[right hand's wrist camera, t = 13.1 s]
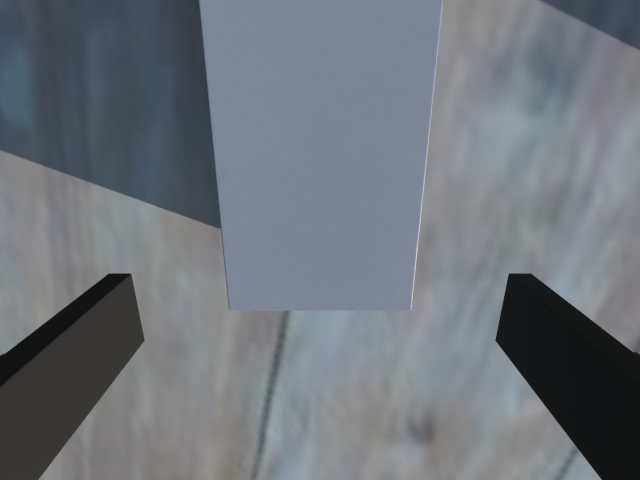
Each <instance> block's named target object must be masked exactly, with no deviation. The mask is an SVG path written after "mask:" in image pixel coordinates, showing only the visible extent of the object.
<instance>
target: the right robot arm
mask: <svg viewBox="0 0 640 480" xmlns="http://www.w3.org/2000/svg"><path fill="white" fill-rule="evenodd" d="M143 342H144V336H143V331H142V326H141V321H140V316H139V311H138V306H137V301H136V296H135V291H134V286H133V281H132V276H131V274H108V275H107V276H105V277H104V278H103V279H101V280H100V281H99V282H98V283H96V284H95V285H94V286H92V287H91V288H90V289H88V290H87V291H86V292H85V293H83V294H82V295H81V296H79V297H78V298H77V299H76V300H74V301H73V302H72V303H70V304H69V305H68V306H66V307H65V308H64V309H63V310H61V311H60V312H59V313H57V314H56V315H55V316H54V317H52V318H51V319H50V320H48V321H47V322H46V323H44V324H43V325H42V326H41V327H39V328H38V329H37V330H35V331H34V332H33V333H32V334H30V335H29V336H28V337H26V338H25V339H24V340H22V341H21V342H20V343H19V344H17V345H16V346H15V347H13V348H12V349H11V350H10V351H8V352H7V353H6V354H3V355H1V356H0V480H38V479H39V478H40V477H41V475H42V474H43V473H44V471H45V470H46V469H47V468H48V466H49V465H50V464H51V462H52V461H53V460H54V458H55V457H56V456H57V454H58V453H59V452H60V451H61V449H62V448H63V447H64V445H65V444H66V443H67V441H68V440H69V439H70V437H71V436H72V435H73V434H74V432H75V431H76V430H77V428H78V427H79V426H80V424H81V423H82V422H83V420H84V419H85V418H86V416H87V415H88V414H89V413H90V411H91V410H92V409H93V407H94V406H95V405H96V403H97V402H98V401H99V399H100V398H101V397H102V396H103V394H104V393H105V392H106V390H107V389H108V388H109V386H110V385H111V384H112V382H113V381H114V380H115V378H116V377H117V376H118V375H119V373H120V372H121V371H122V369H123V368H124V367H125V365H126V364H127V363H128V361H129V360H130V359H131V358H132V356H133V355H134V354H135V352H136V351H137V350H138V348H139V347H140V346H141V344H142V343H143ZM496 342H497V343H498V344H499V346H500V347H501V348H502V350H503V351H504V352H505V354H506V355H507V356H508V358H509V359H510V360H511V361H512V363H513V364H514V365H515V367H516V368H517V369H518V371H519V372H520V373H521V375H522V376H523V377H524V378H525V380H526V381H527V382H528V384H529V385H530V386H531V388H532V389H533V390H534V392H535V393H536V394H537V396H538V397H539V398H540V399H541V401H542V402H543V403H544V405H545V406H546V407H547V409H548V410H549V411H550V413H551V414H552V415H553V416H554V418H555V419H556V420H557V422H558V423H559V424H560V426H561V427H562V428H563V430H564V431H565V432H566V434H567V435H568V436H569V437H570V439H571V440H572V441H573V443H574V444H575V445H576V447H577V448H578V449H579V451H580V452H581V453H582V454H583V456H584V457H585V458H586V460H587V461H588V462H589V464H590V465H591V466H592V468H593V469H594V470H595V471H596V473H597V474H598V475H599V477H600V478H601V479H602V480H640V354H638V353H633V352H632V351H630V350H629V349H628V348H627V347H625V346H624V345H623V344H621V343H620V342H619V341H618V340H616V339H615V338H614V337H612V336H611V335H610V334H608V333H607V332H606V331H605V330H603V329H602V328H601V327H599V326H598V325H597V324H596V323H594V322H593V321H592V320H590V319H589V318H588V317H586V316H585V315H584V314H583V313H581V312H580V311H579V310H577V309H576V308H575V307H574V306H572V305H571V304H570V303H568V302H567V301H566V300H564V299H563V298H562V297H561V296H559V295H558V294H557V293H555V292H554V291H553V290H552V289H550V288H549V287H548V286H546V285H545V284H544V283H542V282H541V281H540V280H539V279H537V278H536V277H535V276H533V275H532V274H509V276H508V281H507V286H506V291H505V296H504V301H503V306H502V311H501V316H500V321H499V326H498V331H497V336H496Z"/></svg>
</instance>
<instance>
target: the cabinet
mask: <svg viewBox="0 0 640 480" xmlns="http://www.w3.org/2000/svg"><path fill="white" fill-rule="evenodd" d="M442 5H443V0H199V9H200V19H201V29H202V39H203V50H204V60H205V70H206V80H207V90H208V101H209V111H210V121H211V131H212V141H213V151H214V162H215V172H216V182H217V192H218V202H219V213H220V223H221V233H222V243H223V253H224V264H225V274H226V284H227V294H228V304H229V310H411V308H412V298H413V288H414V278H415V269H416V259H417V249H418V239H419V230H420V220H421V210H422V200H423V191H424V181H425V171H426V161H427V152H428V142H429V132H430V122H431V113H432V103H433V93H434V83H435V74H436V64H437V54H438V44H439V34H440V25H441V15H442Z"/></svg>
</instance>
